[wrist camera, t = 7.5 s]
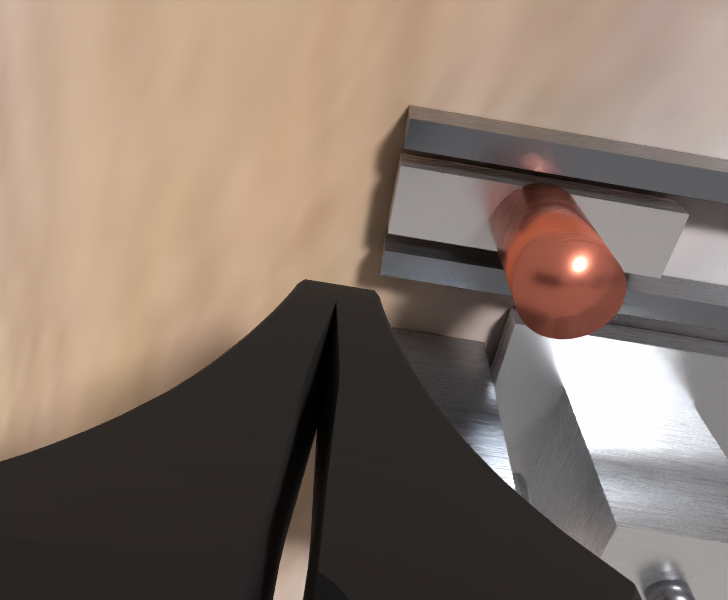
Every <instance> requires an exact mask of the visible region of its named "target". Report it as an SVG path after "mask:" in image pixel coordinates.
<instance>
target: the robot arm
mask: <svg viewBox="0 0 728 600" xmlns="http://www.w3.org/2000/svg"><path fill="white" fill-rule="evenodd" d="M316 429H317V437H316V454H315V471H314V489H313V507H312V525H311V542H310V552H309V562H308V570H307V577H306V584H305V590H304V597H303V600H642V599H641V596H640V594H639V592H638V590H637V587H636V585H635V584H634V583H633V582H632V581H630V580H629V579H628V578H626V577H625V576H624V575H622V574H621V573H619V572H618V571H617V570H615V569H614V568H613V567H611V566H610V565H608V564H607V563H606V562H604V561H603V560H602V559H600V558H599V557H598V556H596V555H595V554H593V553H592V552H591V551H589V550H588V549H587V548H585V547H584V546H582V545H581V544H580V543H578V542H577V541H576V540H574V539H573V538H571V537H570V536H569V535H567V534H566V533H565V532H563V531H562V530H561V529H560V528H558V527H557V526H556V525H555V524H553V523H552V522H551V521H550V520H549V519H547V518H546V517H545V516H544V515H543V514H542V513H540V512H539V511H538V510H537V509H536V508H534V507H533V506H532V505H531V504H530V503H529V502H527V501H526V500H525V499H524V498H523V497H521V496H520V495H519V494H518V493H517V492H516V491H515V490H514V489H513V488H512V487H511V486H510V485H508V484H507V483H506V482H505V481H504V480H503V479H502V478H501V477H500V476H499V475H498V474H497V473H496V472H495V471H494V470H493V469H492V468H491V467H490V466H489V465H488V464H487V463H486V462H485V461H484V460H483V459H482V458H481V457H480V456H479V455H478V454H477V453H476V452H475V451H474V450H473V449H472V448H471V447H470V446H469V444H468V443H467V442H466V441H465V440H464V439H463V438H462V437H461V436H460V434H459V433H458V432H457V431H456V430H455V428H454V427H453V426H452V425H451V423H450V422H449V421H448V420H447V418H446V417H445V416H444V415H443V413H442V412H441V411H440V409H439V408H438V407H437V405H436V404H435V402H434V401H433V399H432V398H431V397H430V395H429V394H428V392H427V390H426V389H425V387H424V386H423V384H422V383H421V381H420V380H419V378H418V377H417V375H416V373H415V372H414V370H413V368H412V367H411V365H410V363H409V361H408V359H407V358H406V356H405V354H404V352H403V350H402V348H401V346H400V345H399V343H398V341H397V339H396V337H395V335H394V333H393V330H392V328H391V326H390V324H389V322H388V319H387V317H386V314H385V312H384V309H383V307H382V304H381V300H380V297H379V296H378V294H377V293H376V292H375V291H374V290H368V289H362V288H356V287H350V286H343V285H337V284H331V283H325V282H318V281H312V280H306V279H305V280H303V281H302V282H300V283H298V284H297V285H296V287H295V288H294V289H293V290H292V292H291V293H290V294H289V295H288V296H287V297H286V298H285V299H284V300H283V302H282V303H281V304H280V305H279V306H278V307H277V308H276V309H275V310H274V311H273V312H272V313H271V314H270V315H269V316H267V317H266V318H265V319H264V320H263V321H262V322H261V323H260V324H259V325H258V326H257V327H256V328H254V329H253V330H252V331H251V332H250V333H249V334H248V335H247V336H245V337H244V338H243V339H242V340H240V341H239V342H238V343H237V344H235V345H234V346H233V347H232V348H230V349H229V350H228V351H227V352H225V353H224V354H223V355H222V356H220V357H219V358H218V359H216V360H215V361H214V362H212V363H211V364H209V365H208V366H207V367H205V368H204V369H202V370H201V371H199V372H198V373H196V374H195V375H193V376H192V377H190V378H189V379H187V380H185V381H184V382H182V383H181V384H179V385H178V386H176V387H174V388H173V389H171V390H169V391H168V392H166V393H164V394H162V395H160V396H158V397H156V398H154V399H152V400H150V401H148V402H146V403H144V404H142V405H140V406H138V407H136V408H134V409H133V410H131V411H129V412H127V413H125V414H123V415H121V416H119V417H116V418H114V419H112V420H110V421H108V422H105V423H103V424H101V425H98V426H96V427H94V428H91V429H89V430H87V431H84V432H82V433H79V434H77V435H74V436H72V437H69V438H67V439H64V440H61V441H59V442H56V443H54V444H51V445H48V446H46V447H43V448H40V449H37V450H35V451H32V452H29V453H26V454H23V455H20V456H17V457H14V458H10V459H7V460H4V461H1V462H0V600H273V596H274V591H275V585H276V580H277V575H278V569H279V564H280V560H281V555H282V551H283V547H284V543H285V539H286V535H287V531H288V528H289V524H290V521H291V517H292V514H293V510H294V507H295V503H296V500H297V496H298V493H299V489H300V486H301V482H302V479H303V475H304V472H305V468H306V465H307V461H308V458H309V454H310V451H311V447H312V443H313V440H314V436H315V433H316Z"/></svg>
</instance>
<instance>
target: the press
mask: <svg viewBox="0 0 728 600" xmlns="http://www.w3.org/2000/svg"><path fill="white" fill-rule="evenodd" d="M404 149H409V150H415V151H421V152H427V153H433V154H439V155H445V156H451V157H457V158H462V159H468V160H474V161H480V162H486V163H492V164H498V165H504V166H510V167H515V168H521V169H527V170H533V171H539V172H545V173H551V174H557V175H563V176H568V177H574V178H580V179H586V180H592V181H598V182H604V183H610V184H616V185H621V186H627V187H633V188H639V189H645V190H651V191H657V192H663V193H669V194H674V195H680V196H686V197H692V198H698V199H704V200H710V201H716V202H722V203H727V204H728V160H724V159H719V158H713V157H707V156H701V155H695V154H690V153H684V152H678V151H672V150H666V149H661V148H655V147H649V146H643V145H637V144H632V143H626V142H620V141H614V140H608V139H603V138H597V137H591V136H585V135H579V134H574V133H568V132H562V131H556V130H550V129H544V128H539V127H533V126H527V125H521V124H515V123H510V122H504V121H498V120H492V119H486V118H481V117H475V116H469V115H463V114H457V113H452V112H446V111H440V110H434V109H428V108H423V107H417V106H411V105H409V110H408V115H407V120H406V126H405V131H404ZM624 274H625V277H626V284H627V285H626V295H625V299H624V301H623V304H622V306H621V308H620V310H619V311H618V312H617V313H618V314H624V315H630V316H637V317H643V318H649V319H655V320H661V321H667V322H673V323H680V324H686V325H692V326H698V327H704V328H710V329H716V330H723V331H728V286H723V285H717V284H711V283H705V282H699V281H693V280H687V279H681V278H675V277H669V276H663V275H662V276H661V278H655V277H649V276H643V275H637V274H631V273H625V272H624ZM380 275H385V276H391V277H397V278H403V279H409V280H415V281H421V282H428V283H434V284H440V285H446V286H452V287H458V288H464V289H471V290H477V291H483V292H489V293H495V294H501V295H507V296H512V294H511V291H510V288H509V284H508V281H507V278H506V275H505V272H504V269H503V266H502V263H501V260H500V257H499V254H498V251H492V250H486V249H480V248H474V247H468V246H462V245H455V244H449V243H443V242H437V241H431V240H425V239H419V238H413V237H407V236H401V235H395V234H389V233H388V230H386V232H385V237H384V242H383V248H382V253H381V269H380ZM392 330H393V333H394V335H395V337H396V339H397V341H398V343H399V345H400V346H401V348H402V350H403V352H404V354H405V356H406V358H407V359H408V361H409V363H410V365H411V367H412V368H413V370H414V372H415V373H416V375H417V377H418V378H419V380H420V381H421V383H422V384H423V386H424V387H425V389H426V390H427V392H428V394H429V395H430V397H431V398H432V399H433V401H434V402H435V404H436V405H437V407H438V408H439V409H440V411H441V412H442V413H443V415H444V416H445V417H446V418H447V420H448V421H449V422H450V423H451V425H452V426H453V427H454V428H455V430H456V431H457V432H458V433H459V434H460V436H461V437H462V438H463V439H464V440H465V441H466V442H467V443H468V444H469V446H470V447H471V448H472V449H473V450H474V451H475V452H476V453H477V454H478V455H479V456H480V457H481V458H482V459H483V460H484V461H485V462H486V463H487V464H488V465H489V466H490V467H491V468H492V469H493V470H494V471H495V472H496V473H497V474H498V475H499V476H500V477H501V478H502V479H503V480H504V481H505V482H506V483H507V484H508V485H510V486H511V487H512V488H513V489H514V490H515V491H516V492H517V493H518V494H519V495H520V496H521V497H523V498H524V499H525V500H526V501H527V502H529V503H530V504H531V505H532V503H531V498H530V494H529V490H528V486H527V485H528V483H529V480H530V478H531V475H532V473H533V470H534V468H535V466H536V463H537V461H538V458H539V456H540V453H541V451H542V449H543V446H544V444H545V441H546V439H547V436H548V434H549V432H550V429H551V427H552V424H553V422H554V419H555V417H556V415H557V412H558V410H559V407H560V405H561V402H562V400H563V398H564V395H565V393H566V391H569V392H575V393H582V394H588V395H594V396H601V397H607V398H614V399H620V400H626V401H633V402H639V403H645V404H652V405H658V406H665V407H671V408H677V409H684V410H690V411H696V412H698V414H699V416H700V417H701V419H702V420H703V422H704V423H705V425H706V426H707V428H708V430H709V431H710V433H711V434H712V436H713V437H714V439H715V440H716V442H717V444H718V445H719V447H720V448H721V450H722V451H723V453H724V454H725V456H726V458H727V459H728V343H726V342H720V341H714V340H708V339H702V338H695V337H689V336H683V335H677V334H671V333H665V332H658V331H652V330H646V329H640V328H634V327H627V326H621V325H615V324H609V323H607V324H606V325H605V326H603V327H602V328H601V329H599V330H597V331H596V332H594V333H591V334H589V335H587V336H583V337H580V338H575V339H568V340H559V339H551V338H547V337H544V336H541V335H539V334H537V333H535V332H534V331H532V330H531V329H529V328H528V327H527V326H526V325H525V324H524V322H523V321H522V320H521V318H520V316H519V314H518V312H517V309H516V308H510V311H509V314H508V317H507V320H506V323H505V326H504V329H503V332H502V335H501V338H500V341H499V345H498V348H497V351H496V354H495V357H494V360H493V363H492V366H491V369H490V368H489V363H488V359H487V354H486V349H485V345H484V342H478V341H472V340H465V339H459V338H453V337H447V336H440V335H434V334H428V333H422V332H415V331H409V330H403V329H397V328H392Z"/></svg>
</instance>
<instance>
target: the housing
mask: <svg viewBox="0 0 728 600" xmlns="http://www.w3.org/2000/svg"><path fill="white" fill-rule="evenodd" d="M527 486H528V490H529V494H530V498H531V503H532V506H533V507H534V508H536V509H537V510H538V511H539V512H540V513H542V514H543V515H544V516H545V517H546V518H547V519H549V520H550V521H551V522H552V523H553V524H555V525H556V526H557V527H558V528H560V529H561V530H562V531H563V532H565V533H566V534H567V535H569V536H570V537H571V538H573V539H574V540H576V541H577V542H578V543H580V544H581V545H582V546H584V547H585V548H587V549H588V550H589V551H591V552H592V553H593V554H595V555H596V556H598V557H599V558H600V559H602V560H603V561H604V562H606V563H607V564H608V565H610V566H611V567H613V568H614V569H615V570H617V571H618V572H619V573H621V574H622V575H624V576H625V577H626V578H628V579H629V580H630V581H632V582H633V583H634V584H635V585H636V587H637V590H638V592H639V594H640V596H641V599H642V600H728V459H727V458H726V456H725V454H724V453H723V451H722V450H721V448H720V447H719V445H718V444H717V442H716V440H715V439H714V437H713V436H712V434H711V433H710V431H709V430H708V428H707V426H706V425H705V423H704V422H703V420H702V419H701V417H700V416H699V414H698V412H696V411H690V410H684V409H677V408H671V407H665V406H658V405H652V404H645V403H639V402H633V401H626V400H620V399H614V398H607V397H601V396H594V395H588V394H582V393H575V392H569V391H566V393H565V395H564V398H563V400H562V402H561V405H560V407H559V410H558V412H557V415H556V417H555V419H554V422H553V424H552V427H551V429H550V432H549V434H548V436H547V439H546V441H545V444H544V446H543V449H542V451H541V453H540V456H539V458H538V461H537V463H536V466H535V468H534V470H533V473H532V475H531V478H530V480H529V483H528V485H527Z"/></svg>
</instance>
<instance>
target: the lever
mask: <svg viewBox="0 0 728 600" xmlns="http://www.w3.org/2000/svg"><path fill="white" fill-rule="evenodd" d="M689 215H690V214H688V213H687V212H686V211H685V210H684V209H683V208H682V207H681V206H680V205H679V204H677V203H676V202H675V201H674V200H673V199H670V198H664V197H658V196H652V195H646V194H640V193H634V192H629V191H623V190H617V189H611V188H605V187H599V186H593V185H587V184H581V183H575V182H570V181H564V180H558V179H552V178H546V177H540V176H534V175H528V174H522V173H516V172H511V171H505V170H499V169H493V168H487V167H481V166H475V165H469V164H463V163H457V162H452V161H446V160H440V159H434V158H428V157H422V156H416V155H410V154H404V153H401V154H400V159H399V165H398V170H397V175H396V181H395V186H394V191H393V196H392V202H391V207H390V212H389V219H388V233H389V234H395V235H401V236H407V237H413V238H419V239H425V240H431V241H437V242H443V243H449V244H455V245H462V246H468V247H474V248H480V249H486V250H492V251H498V254H499V257H500V260H501V263H502V266H503V269H504V272H505V275H506V278H507V281H508V284H509V288H510V291H511V294H512V297H513V300H514V303H515V306H516V309H517V312H518V314H519V316H520V318H521V320H522V321H523V322H524V324H525V325H526V326H527V327H528V328H529V329H531V330H532V331H534V332H535V333H537V334H539V335H541V336H544V337H547V338H551V339H559V340H568V339H575V338H580V337H583V336H587V335H589V334H591V333H594V332H596V331H597V330H599V329H601V328H602V327H603V326H605V325H606V324H607V323H608V322H610V321H611V320H612V319H613V317H614V316H615V315H616V314H617V312H618V311H619V310H620V308H621V306H622V304H623V301H624V299H625V295H626V285H627V284H626V277H625V274H624V272H625V273H631V274H637V275H643V276H649V277H655V278H661V276H662V274H663V271H664V269H665V267H666V265H667V263H668V261H669V258H670V256H671V254H672V252H673V250H674V247H675V245H676V243H677V241H678V239H679V237H680V234H681V232H682V230H683V228H684V226H685V223H686V221H687V219H688V217H689Z"/></svg>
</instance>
